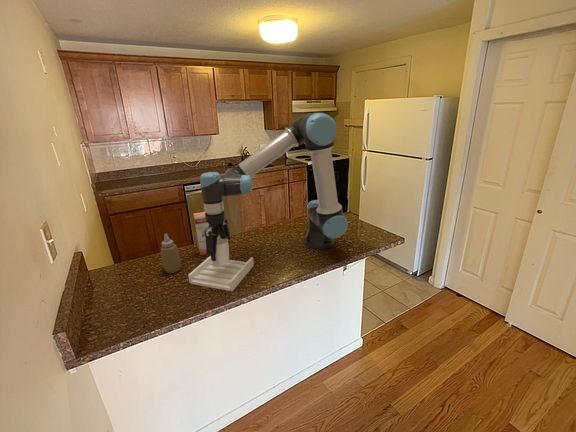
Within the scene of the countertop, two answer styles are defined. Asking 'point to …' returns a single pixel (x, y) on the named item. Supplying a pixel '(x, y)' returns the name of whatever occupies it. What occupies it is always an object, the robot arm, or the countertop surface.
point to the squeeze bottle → (170, 256)
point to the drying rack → (220, 274)
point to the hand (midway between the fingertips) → (221, 261)
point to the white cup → (222, 251)
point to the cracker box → (201, 231)
